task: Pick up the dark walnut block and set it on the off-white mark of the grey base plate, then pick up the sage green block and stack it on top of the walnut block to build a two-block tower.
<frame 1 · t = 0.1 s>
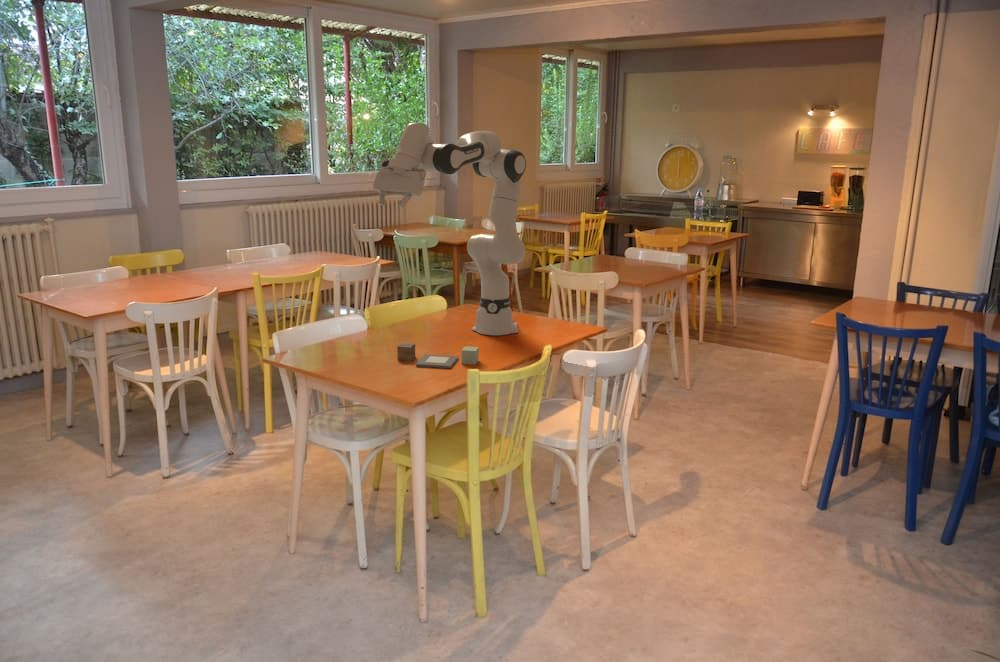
hand: (391, 205, 259), 54 cm above the table, fingers open, 8 cm apart
walnut block: (406, 358, 277), on the table
sage block: (470, 362, 273), on the table
base plate: (437, 362, 272), on the table
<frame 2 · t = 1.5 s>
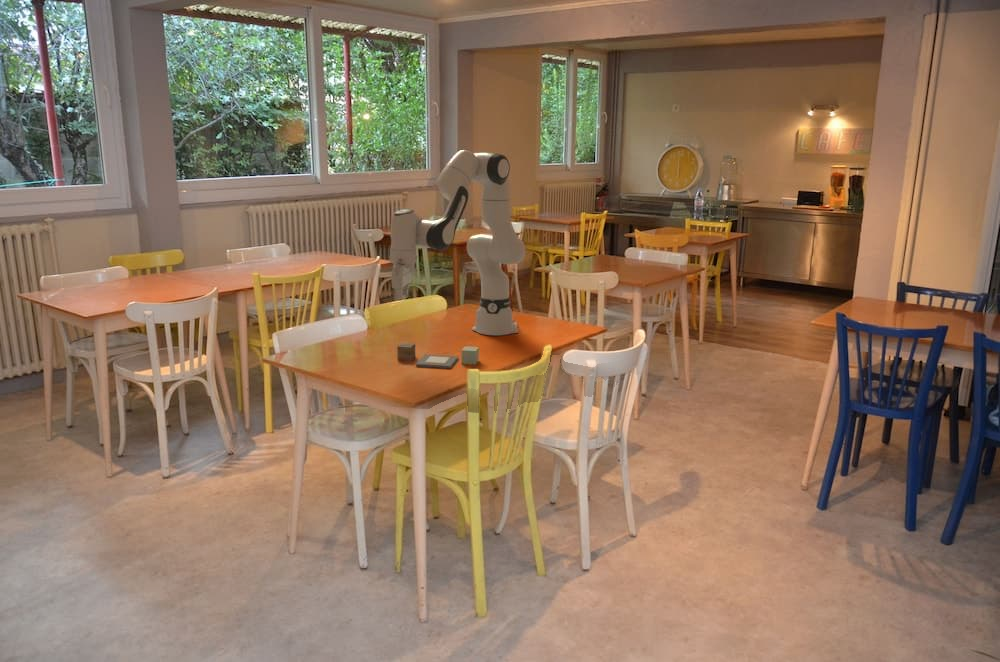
hand: (402, 297, 270), 22 cm above the table, fingers open, 8 cm apart
nothing on the table moved.
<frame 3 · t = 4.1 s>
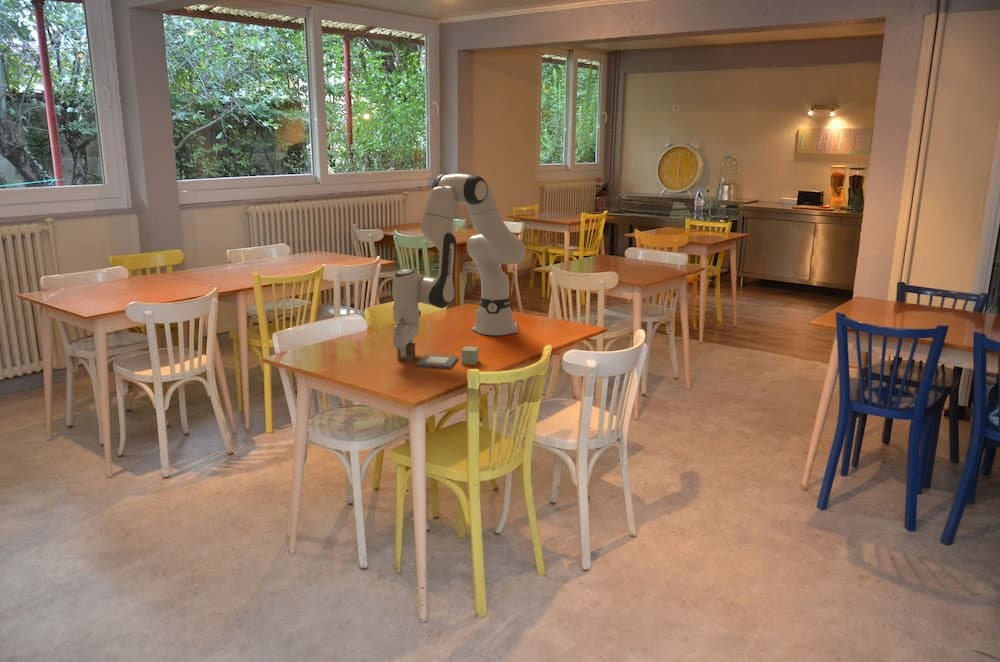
hand: (406, 353, 277), 2 cm above the table, fingers closed on walnut block, 5 cm apart
walnut block: (406, 358, 277), on the table, touching gripper
everything else where it was.
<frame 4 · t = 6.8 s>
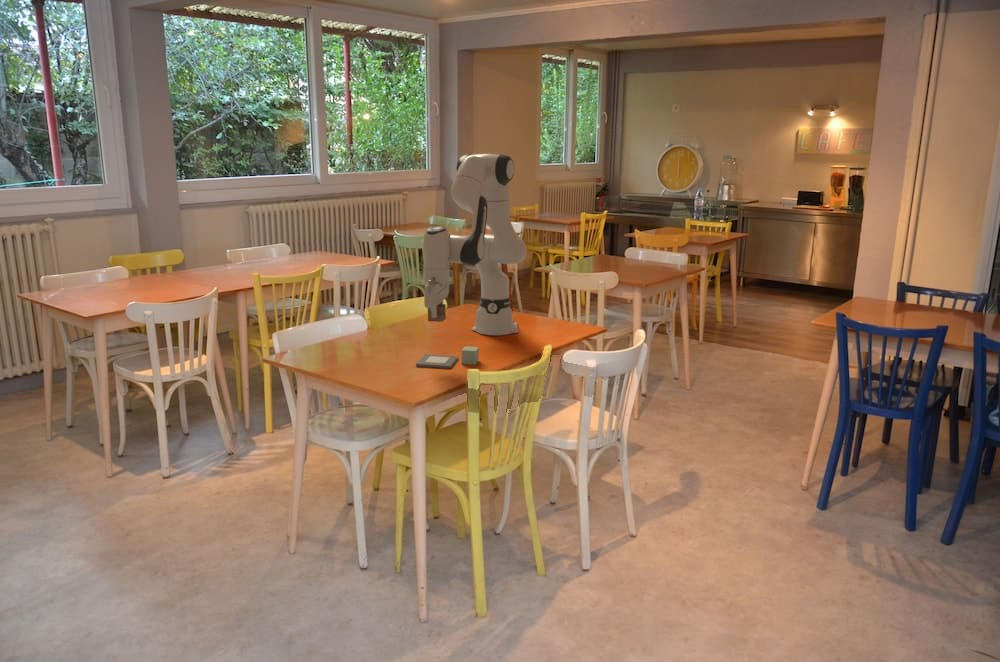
hand: (436, 315, 268), 17 cm above the table, fingers closed on walnut block, 5 cm apart
walnut block: (436, 319, 268), point 15 cm above the table, touching gripper
everything else where it was.
when the fingers open (4 cm above the table, at t = 9.6 s): walnut block drops 1 cm, resting on base plate.
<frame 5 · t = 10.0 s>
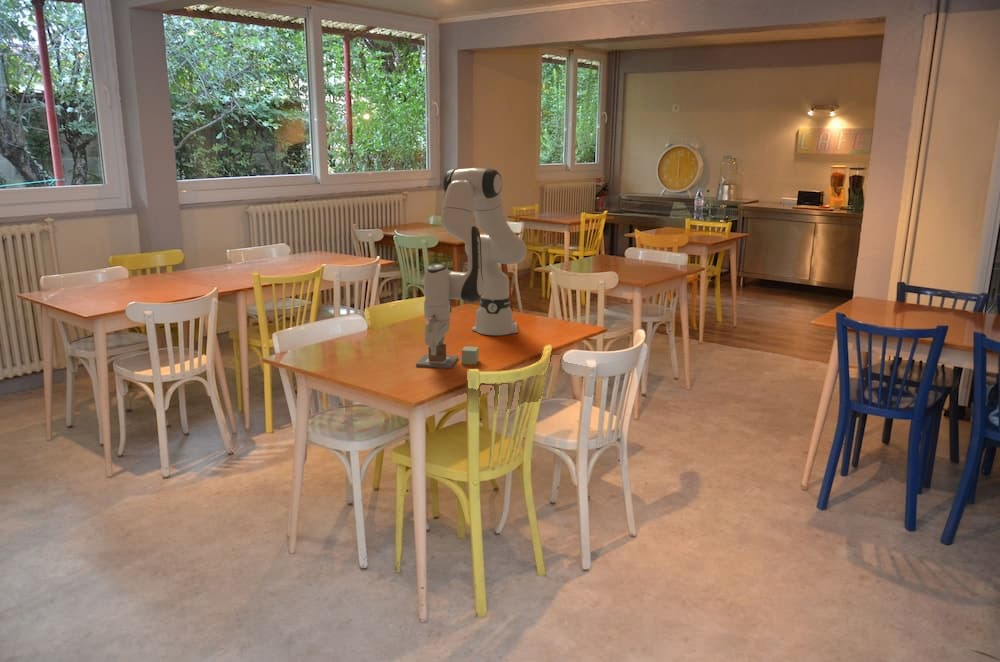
hand: (437, 351, 271), 4 cm above the table, fingers open, 8 cm apart
walnut block: (437, 359, 272), point 1 cm above the table, touching base plate
everything else where it was.
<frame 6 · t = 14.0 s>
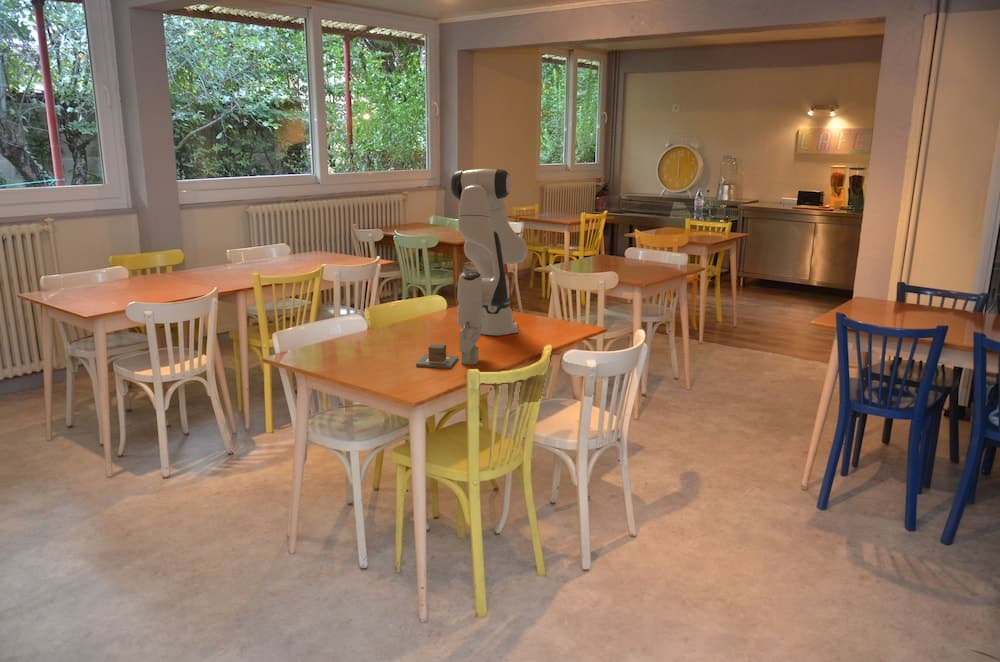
hand: (470, 357, 273), 2 cm above the table, fingers closed on sage block, 5 cm apart
sage block: (470, 362, 273), on the table, touching gripper
everything else where it was.
when the fingers open (9 cm above the table, at t = 18.9 s): sage block stays where it is, resting on walnut block.
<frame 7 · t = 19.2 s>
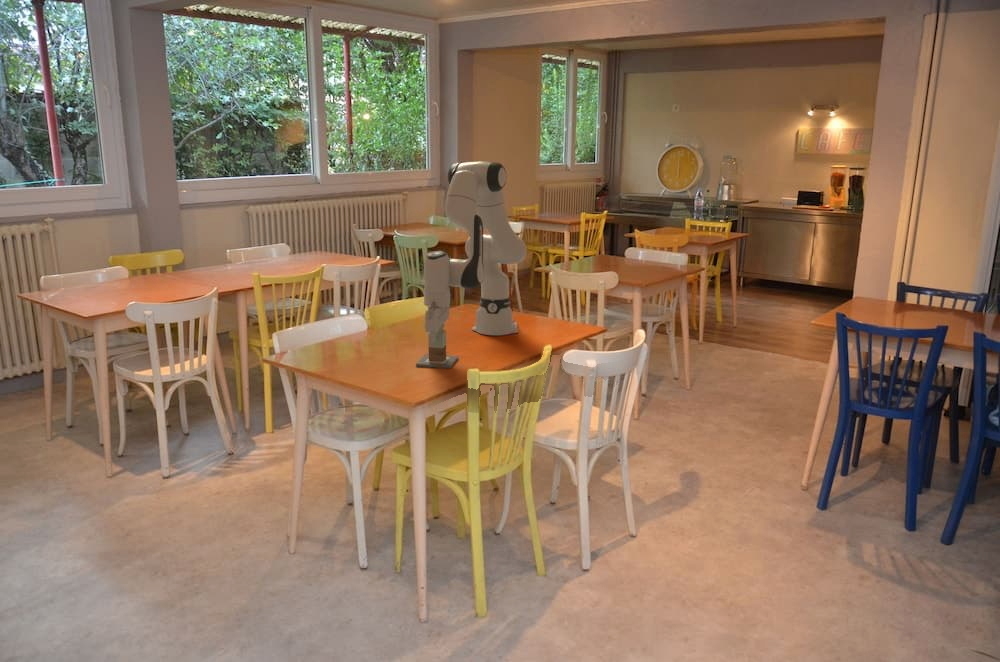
hand: (437, 338, 270), 9 cm above the table, fingers open, 7 cm apart
walnut block: (437, 359, 272), point 1 cm above the table, touching base plate, sage block
sage block: (437, 345, 271), point 6 cm above the table, touching walnut block
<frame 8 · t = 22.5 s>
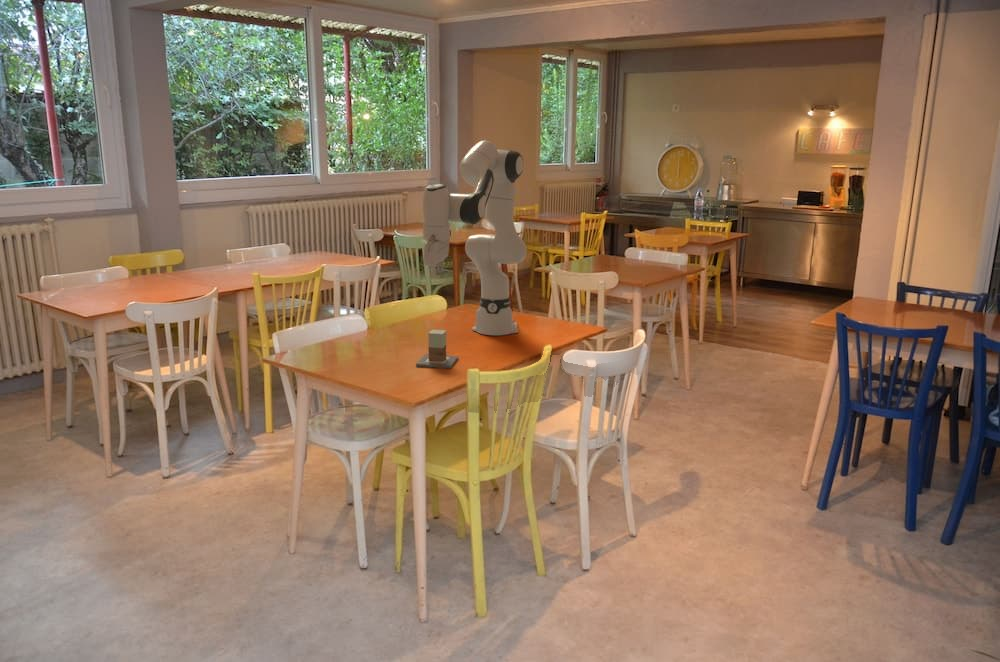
hand: (436, 274, 264), 31 cm above the table, fingers open, 8 cm apart
nothing on the table moved.
at the end: walnut block 0.1 cm off-centre on the base plate, point 1.1 cm above the base plate's base; sage block 0.0 cm off-centre on the walnut block, point 5.0 cm above the walnut block's base; sage block tilted 0° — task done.
